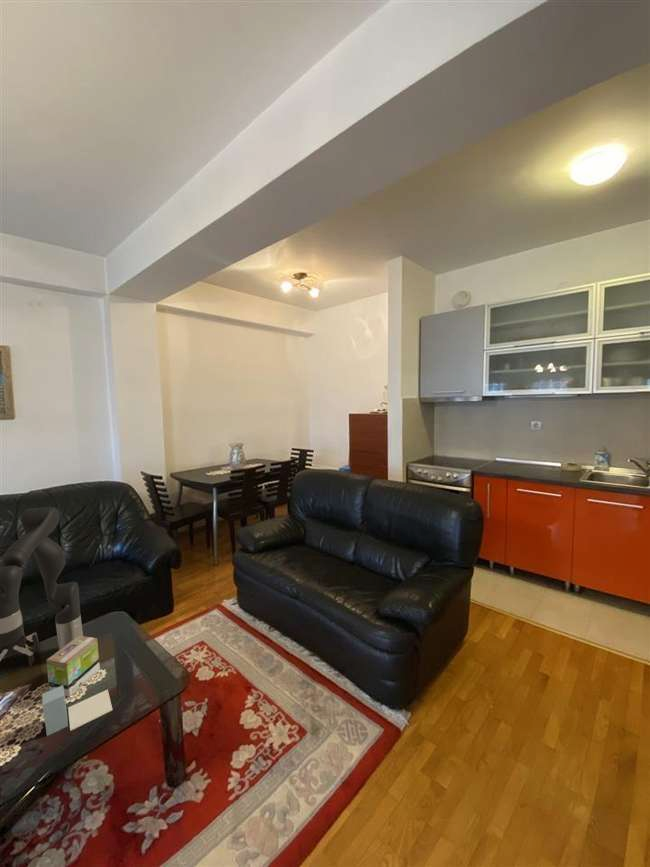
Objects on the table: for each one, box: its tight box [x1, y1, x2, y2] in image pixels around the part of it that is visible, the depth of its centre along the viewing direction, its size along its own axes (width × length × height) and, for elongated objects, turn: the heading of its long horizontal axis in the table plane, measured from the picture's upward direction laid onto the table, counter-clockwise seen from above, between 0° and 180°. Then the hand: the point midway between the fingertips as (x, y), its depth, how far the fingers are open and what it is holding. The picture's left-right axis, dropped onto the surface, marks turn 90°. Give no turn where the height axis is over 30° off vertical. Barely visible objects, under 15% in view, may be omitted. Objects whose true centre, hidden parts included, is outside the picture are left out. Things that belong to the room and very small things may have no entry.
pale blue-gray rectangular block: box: [42, 685, 69, 737], centre depth 130 cm, size 6×6×12 cm
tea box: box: [45, 635, 101, 698], centre depth 149 cm, size 15×10×15 cm, turn 168°
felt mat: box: [67, 689, 113, 732], centre depth 136 cm, size 12×13×1 cm
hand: (14, 670), depth 121 cm, fingers open, 8 cm apart
